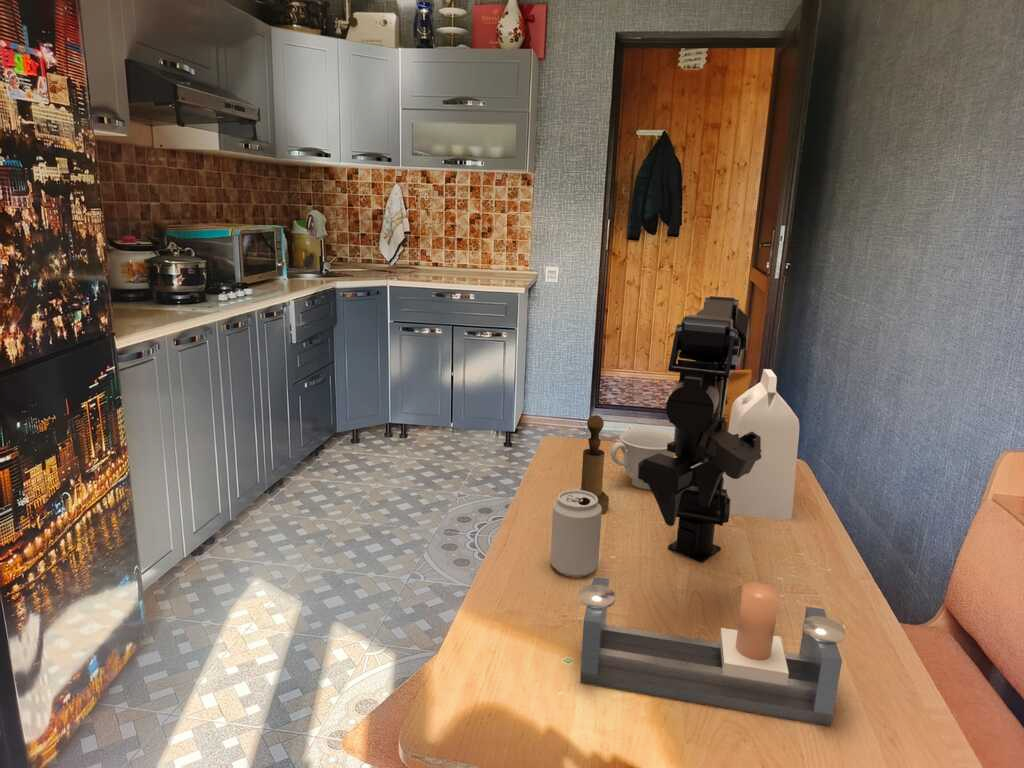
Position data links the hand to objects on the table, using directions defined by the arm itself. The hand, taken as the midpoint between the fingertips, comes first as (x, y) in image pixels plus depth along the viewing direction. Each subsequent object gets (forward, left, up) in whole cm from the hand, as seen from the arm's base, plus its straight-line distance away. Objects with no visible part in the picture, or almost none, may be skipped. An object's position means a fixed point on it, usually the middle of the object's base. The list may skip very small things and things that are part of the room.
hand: (687, 515), depth 99 cm
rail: (+13, +11, -13) cm, 22 cm away
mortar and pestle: (-14, -28, -13) cm, 34 cm away
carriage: (+10, +16, -10) cm, 22 cm away
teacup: (-30, -28, -13) cm, 43 cm away
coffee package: (-52, -24, -13) cm, 59 cm away
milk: (-39, -8, -13) cm, 42 cm away
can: (+5, -16, -13) cm, 21 cm away
